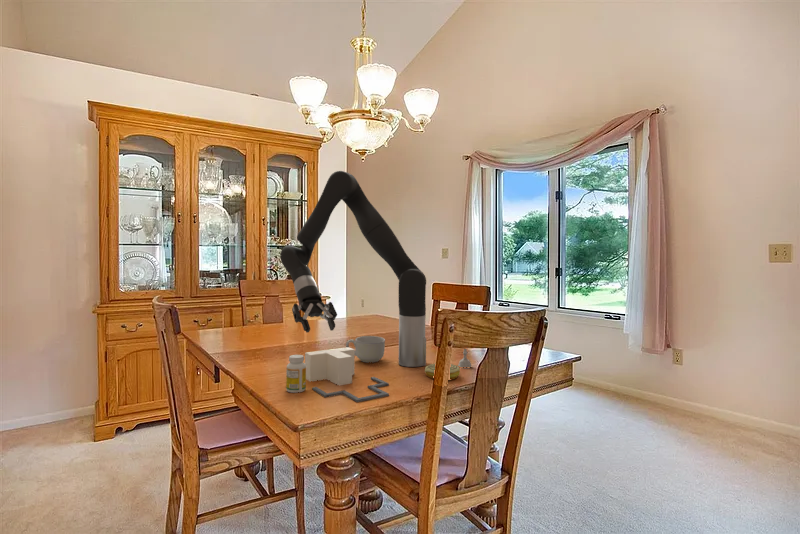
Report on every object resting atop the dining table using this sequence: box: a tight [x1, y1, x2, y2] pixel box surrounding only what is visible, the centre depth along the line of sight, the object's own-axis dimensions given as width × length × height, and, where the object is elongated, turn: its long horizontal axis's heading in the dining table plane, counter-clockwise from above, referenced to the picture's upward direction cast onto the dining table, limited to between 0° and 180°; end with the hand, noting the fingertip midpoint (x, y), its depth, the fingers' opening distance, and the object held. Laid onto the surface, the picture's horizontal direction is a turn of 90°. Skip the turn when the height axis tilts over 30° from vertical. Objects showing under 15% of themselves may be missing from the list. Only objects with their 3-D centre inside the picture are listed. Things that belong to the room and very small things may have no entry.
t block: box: [304, 346, 356, 386], centre depth 136 cm, size 12×15×8 cm
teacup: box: [345, 335, 386, 363], centre depth 161 cm, size 14×11×8 cm
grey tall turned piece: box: [457, 348, 473, 367], centre depth 154 cm, size 7×7×18 cm
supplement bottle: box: [285, 354, 307, 394], centre depth 125 cm, size 5×5×10 cm
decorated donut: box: [424, 363, 461, 380], centre depth 141 cm, size 10×11×4 cm
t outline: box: [311, 376, 390, 403], centre depth 125 cm, size 16×20×1 cm
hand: (320, 330), depth 145 cm, fingers open, 8 cm apart
